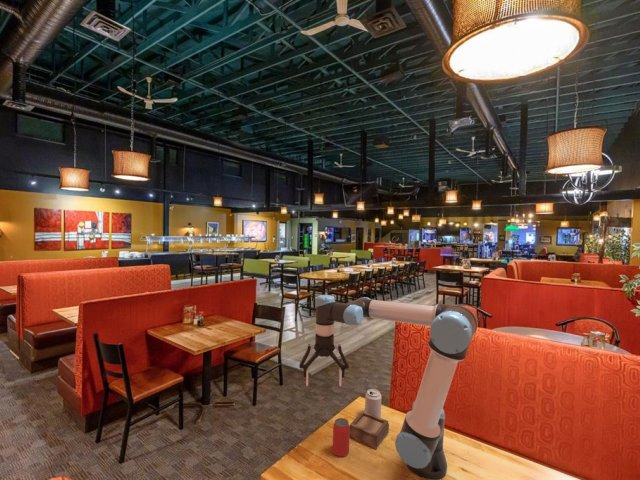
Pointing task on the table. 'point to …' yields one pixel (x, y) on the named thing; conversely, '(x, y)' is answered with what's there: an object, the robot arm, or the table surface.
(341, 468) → the table surface
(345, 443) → the beer can
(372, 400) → the can
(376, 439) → the walnut tray
